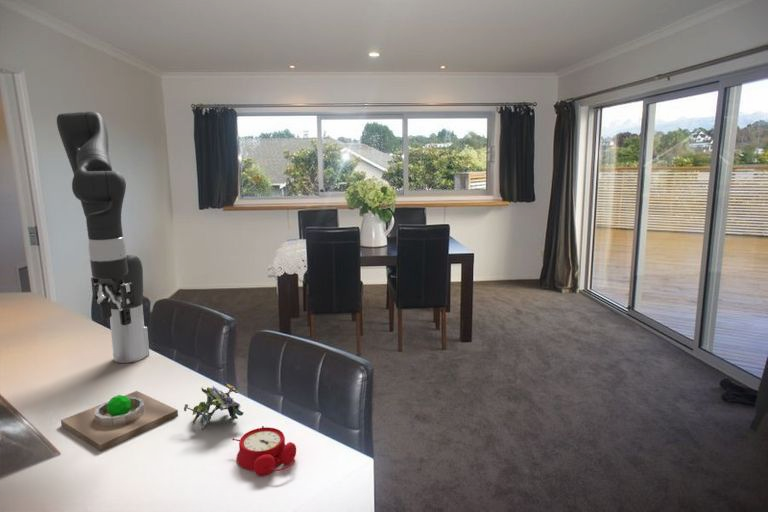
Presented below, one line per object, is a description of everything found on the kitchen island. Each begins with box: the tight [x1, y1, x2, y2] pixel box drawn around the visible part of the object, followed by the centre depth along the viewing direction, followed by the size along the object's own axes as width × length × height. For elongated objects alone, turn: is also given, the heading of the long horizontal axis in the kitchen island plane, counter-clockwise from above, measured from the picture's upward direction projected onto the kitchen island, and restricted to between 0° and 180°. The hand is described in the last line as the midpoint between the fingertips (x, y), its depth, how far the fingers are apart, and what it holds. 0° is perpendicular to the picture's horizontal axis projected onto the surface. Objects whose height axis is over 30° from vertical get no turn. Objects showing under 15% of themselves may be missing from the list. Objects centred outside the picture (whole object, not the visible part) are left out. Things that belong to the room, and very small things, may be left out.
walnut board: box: [60, 390, 179, 452], centre depth 112 cm, size 18×18×2 cm
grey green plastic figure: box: [183, 382, 244, 431], centre depth 111 cm, size 11×11×12 cm
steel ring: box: [94, 397, 144, 426], centre depth 112 cm, size 10×10×2 cm
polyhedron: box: [107, 394, 131, 416], centre depth 111 cm, size 5×5×5 cm
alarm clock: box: [231, 425, 297, 477], centre depth 97 cm, size 10×6×15 cm
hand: (116, 321), depth 115 cm, fingers open, 8 cm apart
